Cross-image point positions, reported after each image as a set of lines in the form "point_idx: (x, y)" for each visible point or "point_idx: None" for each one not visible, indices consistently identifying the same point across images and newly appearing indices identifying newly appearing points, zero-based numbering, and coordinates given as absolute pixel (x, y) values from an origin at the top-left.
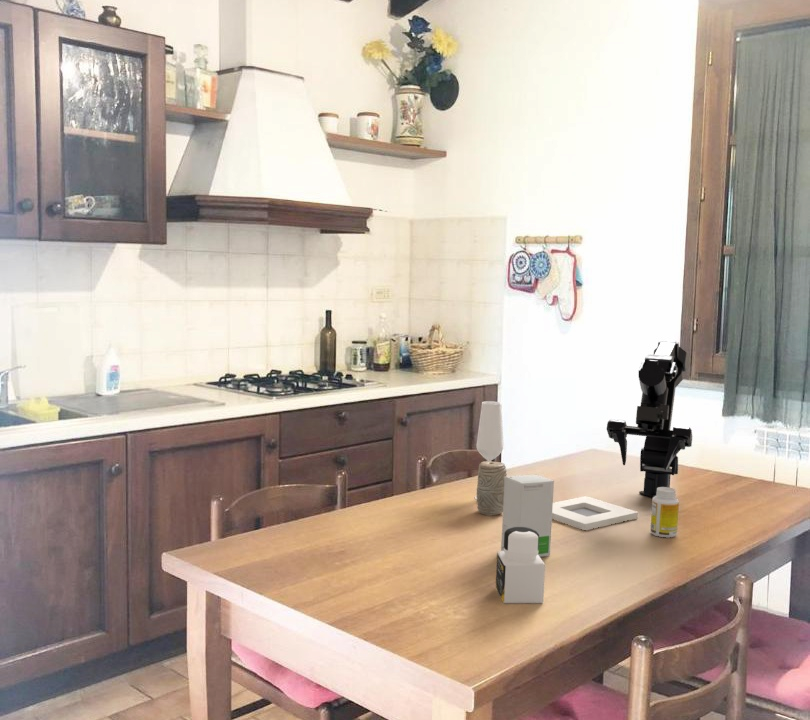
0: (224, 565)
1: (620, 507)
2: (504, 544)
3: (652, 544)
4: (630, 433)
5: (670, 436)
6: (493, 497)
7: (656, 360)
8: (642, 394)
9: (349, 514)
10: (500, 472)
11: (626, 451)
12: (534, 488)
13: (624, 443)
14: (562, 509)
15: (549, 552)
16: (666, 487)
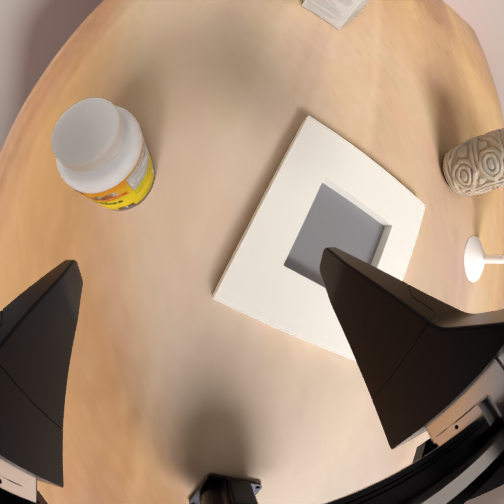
0: (449, 9)
1: (270, 318)
2: None
3: (144, 96)
4: (435, 450)
5: (3, 498)
6: (465, 142)
7: None
8: None
9: (498, 119)
10: (498, 136)
11: (362, 367)
12: None
13: (421, 313)
14: (383, 211)
15: (303, 2)
16: (81, 154)
